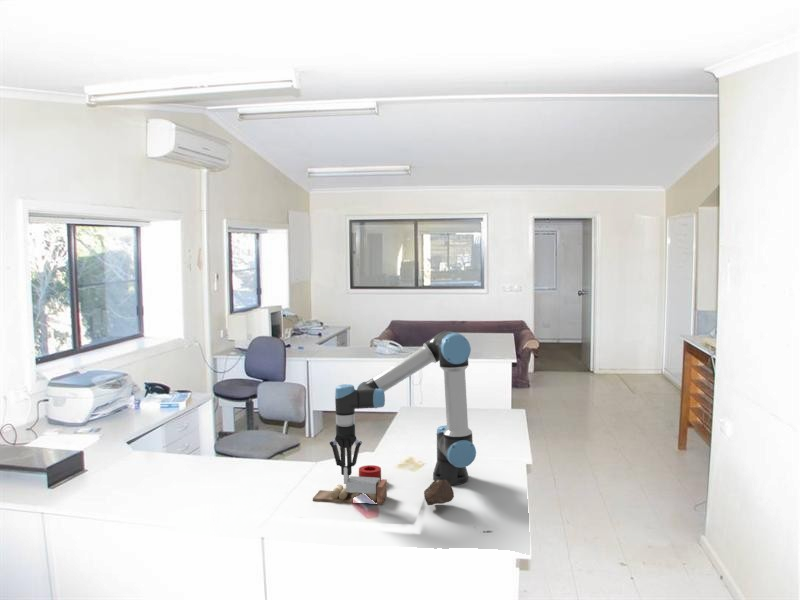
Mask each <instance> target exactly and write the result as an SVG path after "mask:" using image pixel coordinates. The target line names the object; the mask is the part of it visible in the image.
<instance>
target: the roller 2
mask: <svg viewBox="0 0 800 600" xmlns="http://www.w3.org/2000/svg"><path fill="white" fill-rule="evenodd" d="M360 494H362V493H353V494H352V496H351V497H352V499H353V498H354V497H356V496H359V495H360Z"/></svg>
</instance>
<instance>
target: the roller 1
mask: <svg viewBox="0 0 800 600" xmlns="http://www.w3.org/2000/svg"><path fill="white" fill-rule="evenodd" d="M343 488H344V486H343V485H342V484H337V485H336V486H335V488H334V489H333V490H331V491H332V493H331V494H330V496H331V498H332V499H336V498H337V497H338V496H339V493H340V492H341V491H342V490H343Z"/></svg>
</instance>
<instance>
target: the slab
mask: <svg viewBox="0 0 800 600" xmlns="http://www.w3.org/2000/svg"><path fill="white" fill-rule="evenodd" d="M379 483H380V478H375V477H359V476H356V475H349V479H348V480H347V481H346V484H345V486H346V492H353V493H369V494H376V493H377V486H378V484H379Z"/></svg>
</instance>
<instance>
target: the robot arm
mask: <svg viewBox="0 0 800 600" xmlns="http://www.w3.org/2000/svg"><path fill="white" fill-rule="evenodd" d="M422 345H423V346H422V347H420V348H419V349H417V350H415V351H414V352H413V353H411V354H409V355H407V356H406V357H404V358H403V359H401V360H400V361H397V362H396V363H395V364H393V365H391V366H390V367H388V368H387V369H385V370H383V371H382V372H380V373H378V374H377V375H375V376H373V377H372V378H371V379H369V380H367V381H362V382H360V383H359V384H358V385H357V387H356V388H355V386H354V385H353V384H347V383H346V384H339V385H337V386H336V387H335V393H334V394H335V396H334V397H335V398H334V399H335V400H334V401H335V402H334V403H335V424H336V426H335V436H334V439H331V441H329V445H330V446H331V448H332V452H333V456H334V461H335V464H336V466H339V467H340V469H341V472H340V474H341V475H342V476H343V484H344V485H346V481H347V480H348V479H349V478H350V476H352V471H353V470H352V467H355V466H356V464H357V462H358V455H359V452H360V448H361V445H362V444H363V442H362V441H361V440H358V439H357V436H356V424H355V423H356V420H355V419H356V415H355V414H356V410H359V409H379V408H384V406H385V403H386V397H385V392H386V391H388V390H390V389H392V388H393V387H394V386H396V385H398V384H400V383H401V382H403V381H404V380H406V379H407V378H409V377H410V376H412V375H413V374H415V373H417V372H418V371H421V370H422V369H424V368H426V366H428V365H430V364H431V363H432V364H433V363H434V364H436V363H438V362H439V368H441V369H442V370H443V377H444V380H443V381H444V398H445V399H444V400H445V417H446V425H440V426H438V427H437V428H436V433H435V434H436V463H435V467H434V469H433V471H432V472H433V475H432V479H433V482H434V481H436V480H447V481H448V482H449V484H450V485H451V486H452V485H453V486H454V485H461V484H465V483H466V482H468V481H469V473H468V470H467V467H468V466H470V465H472V463H473V462H474V461H475V459H476V456H477V450H476V447H475V444H474V443H473V430H471V428H470V427H469V419H468V401H467V400H468V399H467V382H466V369H467V368H468V367H469V357H470V355H471V350H472V349H471V344H470V341H469V340H468V339H467V338H466V337H465V336H464V335H463V334H461V333H459V332H455V331H452V330H444V331H441V332H439V333H437V334H436V335H435V336H432V337H431V338H430V339H428V340H427V341H425V342H424V343H423V344H422ZM353 445H355V448H354V452H353V456H352V449H353V448H352V447H353ZM338 446H339V448H338ZM339 449H340V453H339Z"/></svg>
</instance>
